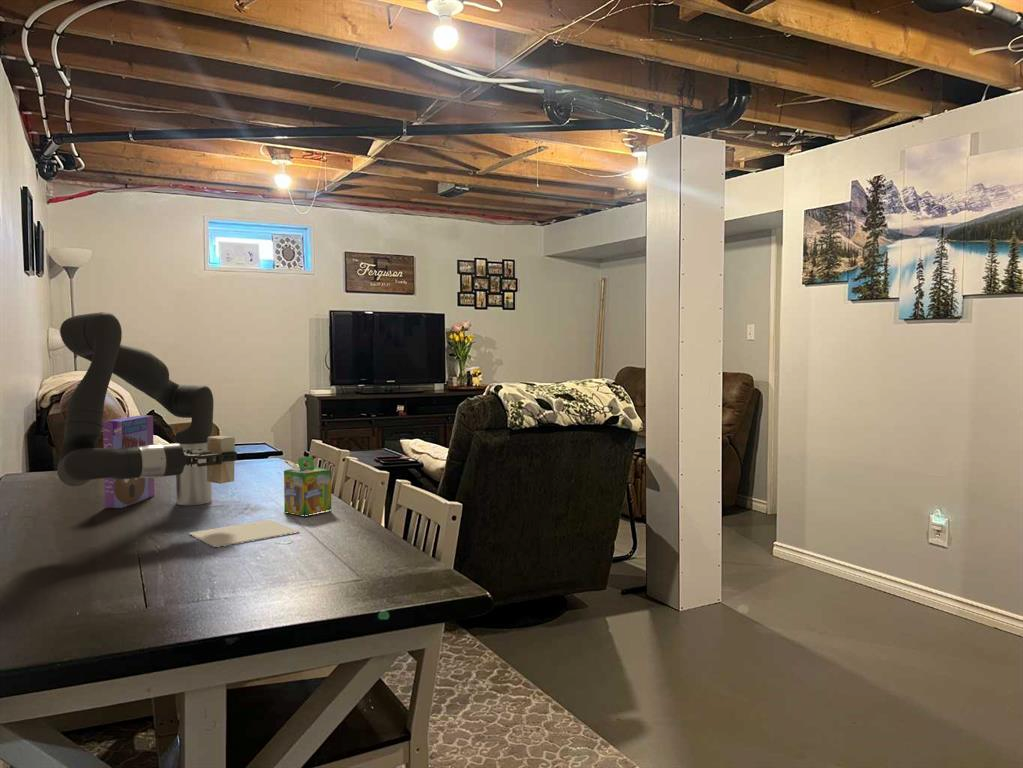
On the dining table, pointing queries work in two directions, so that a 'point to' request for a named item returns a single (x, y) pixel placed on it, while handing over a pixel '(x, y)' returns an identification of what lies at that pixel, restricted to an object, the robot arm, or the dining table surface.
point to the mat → (242, 533)
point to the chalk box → (307, 489)
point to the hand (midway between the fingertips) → (230, 454)
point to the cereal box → (127, 436)
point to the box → (226, 469)
